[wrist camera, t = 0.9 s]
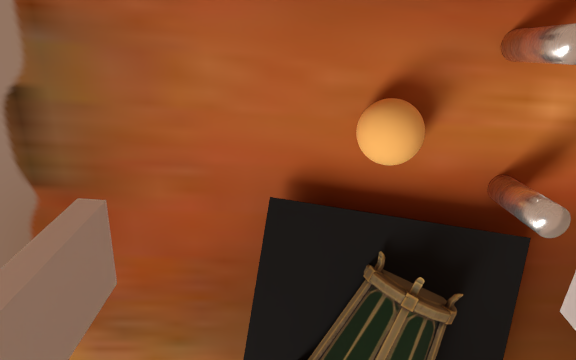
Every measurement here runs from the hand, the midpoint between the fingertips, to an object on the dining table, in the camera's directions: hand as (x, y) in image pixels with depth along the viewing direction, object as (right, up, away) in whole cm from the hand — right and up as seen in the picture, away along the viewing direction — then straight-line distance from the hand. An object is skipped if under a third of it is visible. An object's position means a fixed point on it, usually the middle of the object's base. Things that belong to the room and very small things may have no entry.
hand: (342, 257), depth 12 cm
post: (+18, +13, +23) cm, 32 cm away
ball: (+7, +6, +23) cm, 25 cm away
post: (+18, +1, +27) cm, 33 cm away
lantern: (+6, -14, +32) cm, 36 cm away
